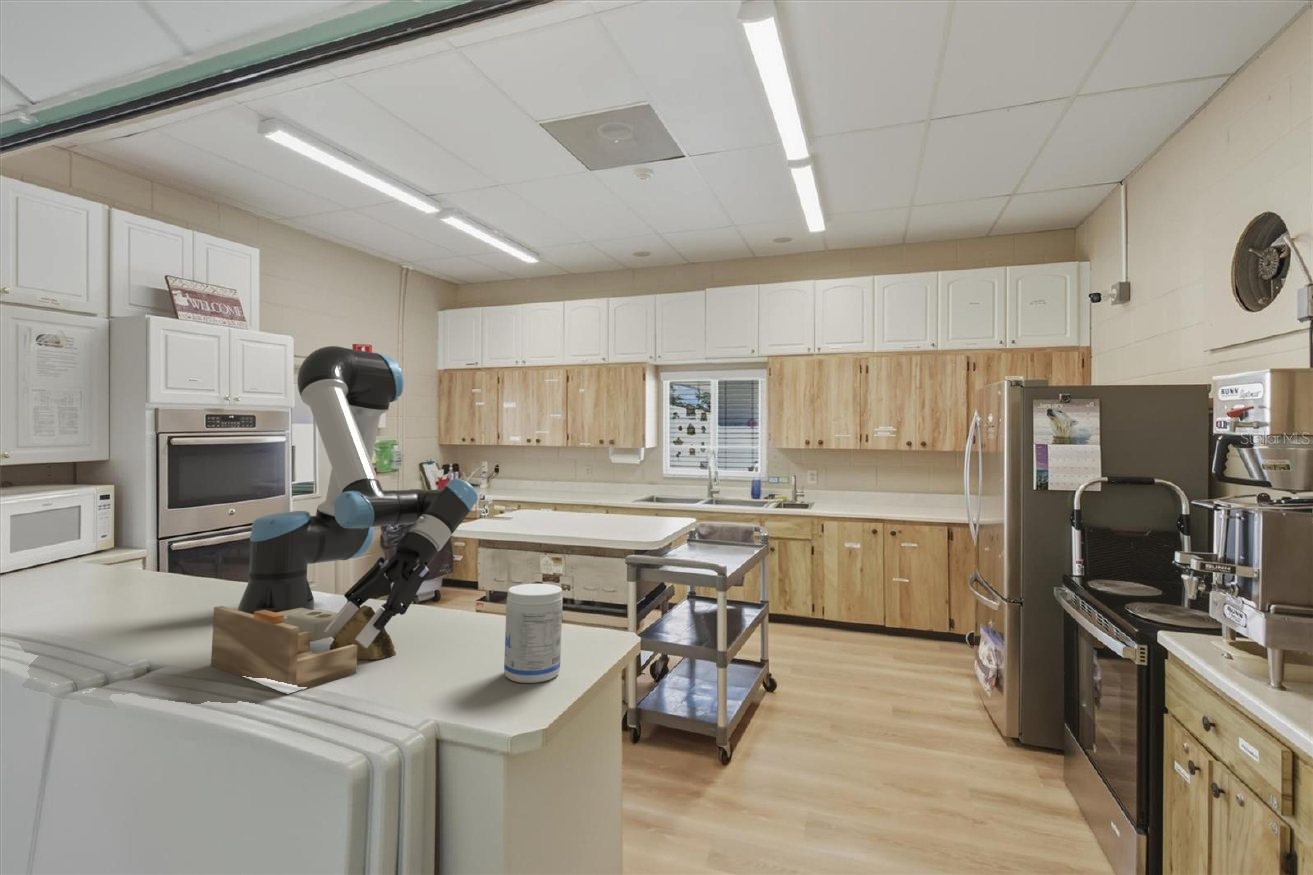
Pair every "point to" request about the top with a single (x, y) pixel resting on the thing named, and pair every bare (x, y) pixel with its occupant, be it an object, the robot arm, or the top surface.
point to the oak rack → (274, 650)
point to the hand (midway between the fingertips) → (345, 639)
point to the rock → (351, 630)
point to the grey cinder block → (310, 621)
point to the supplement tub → (533, 632)
